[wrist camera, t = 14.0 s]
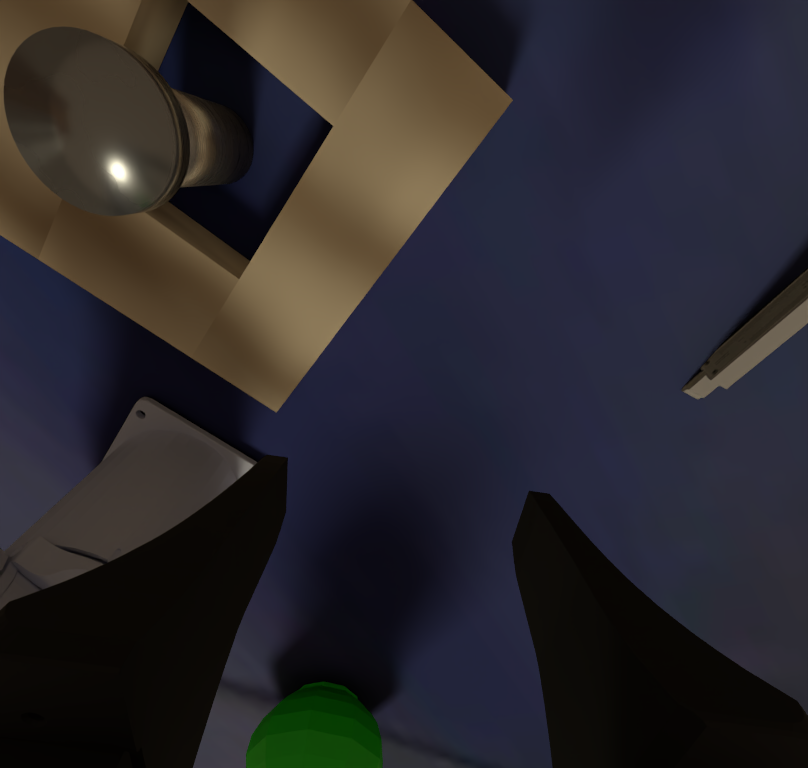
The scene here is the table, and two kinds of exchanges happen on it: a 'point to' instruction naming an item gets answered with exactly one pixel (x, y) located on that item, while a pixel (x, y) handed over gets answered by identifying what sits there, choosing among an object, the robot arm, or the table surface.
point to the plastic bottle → (317, 732)
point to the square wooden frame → (308, 204)
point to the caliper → (754, 339)
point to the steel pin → (115, 125)
